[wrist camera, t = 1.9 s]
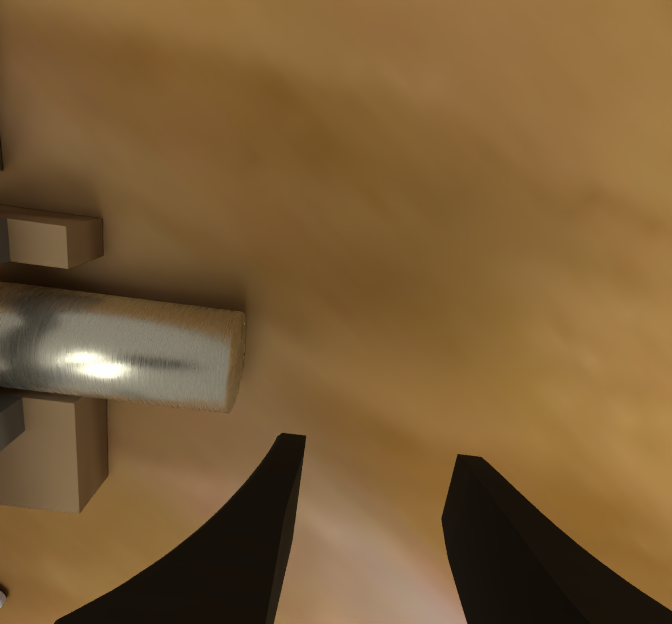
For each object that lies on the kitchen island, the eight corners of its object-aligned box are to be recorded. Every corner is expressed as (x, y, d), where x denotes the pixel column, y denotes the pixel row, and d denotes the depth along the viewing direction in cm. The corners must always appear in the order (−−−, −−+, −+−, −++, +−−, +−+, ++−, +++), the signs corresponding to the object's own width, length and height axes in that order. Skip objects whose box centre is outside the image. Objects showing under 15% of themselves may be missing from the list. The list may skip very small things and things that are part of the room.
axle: (247, 293, 19) (223, 349, 15) (245, 371, 21) (223, 435, 17) (-50, 256, 18) (-146, 303, 15) (-24, 338, 20) (-102, 397, 17)
